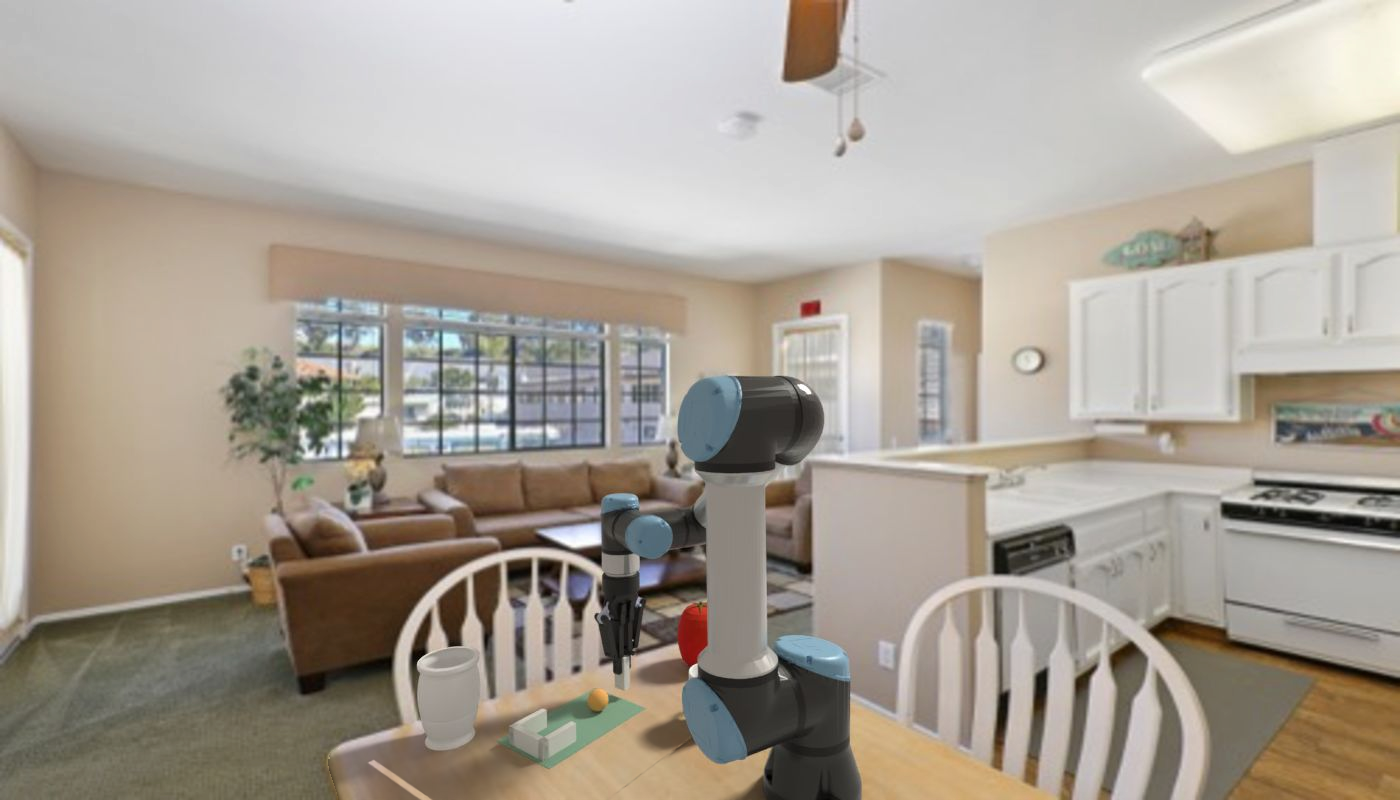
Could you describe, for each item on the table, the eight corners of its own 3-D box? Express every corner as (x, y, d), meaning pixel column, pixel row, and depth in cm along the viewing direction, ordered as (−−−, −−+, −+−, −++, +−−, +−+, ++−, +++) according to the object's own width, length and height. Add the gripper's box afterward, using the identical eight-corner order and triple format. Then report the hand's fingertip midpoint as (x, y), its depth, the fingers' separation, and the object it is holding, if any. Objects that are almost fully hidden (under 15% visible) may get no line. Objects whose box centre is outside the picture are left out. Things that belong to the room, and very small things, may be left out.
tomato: (708, 648, 153) (707, 590, 153) (740, 664, 144) (740, 602, 144) (665, 664, 145) (665, 602, 145) (697, 682, 136) (697, 616, 136)
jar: (456, 718, 122) (454, 641, 122) (493, 733, 117) (492, 652, 116) (405, 746, 113) (403, 662, 113) (444, 764, 108) (442, 676, 107)
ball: (612, 708, 124) (612, 688, 124) (598, 717, 121) (597, 696, 121) (598, 702, 127) (597, 683, 126) (583, 711, 123) (583, 691, 123)
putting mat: (646, 711, 124) (645, 708, 124) (549, 772, 105) (549, 768, 105) (595, 690, 133) (595, 688, 133) (496, 744, 113) (496, 741, 113)
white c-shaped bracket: (576, 741, 113) (575, 723, 113) (543, 761, 107) (542, 742, 107) (542, 725, 119) (542, 708, 118) (509, 743, 113) (509, 725, 113)
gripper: (629, 561, 136) (630, 670, 137) (583, 576, 125) (585, 695, 126) (656, 566, 131) (657, 680, 132) (611, 583, 121) (612, 706, 122)
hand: (622, 687), depth 129 cm, fingers closed
